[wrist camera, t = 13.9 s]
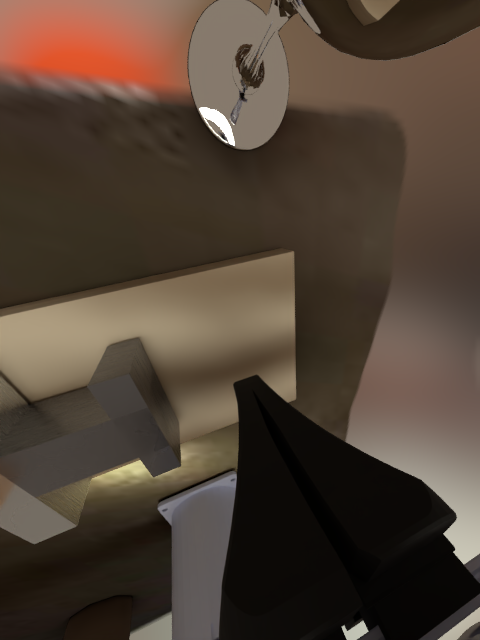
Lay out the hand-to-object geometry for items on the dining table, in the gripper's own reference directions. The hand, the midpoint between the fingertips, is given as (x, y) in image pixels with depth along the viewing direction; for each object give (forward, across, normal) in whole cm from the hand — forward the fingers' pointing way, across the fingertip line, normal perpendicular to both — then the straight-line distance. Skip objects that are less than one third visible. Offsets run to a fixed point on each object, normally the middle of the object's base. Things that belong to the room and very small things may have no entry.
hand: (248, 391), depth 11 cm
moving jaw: (+2, +9, 0) cm, 9 cm away
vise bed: (+4, +8, 0) cm, 9 cm away
